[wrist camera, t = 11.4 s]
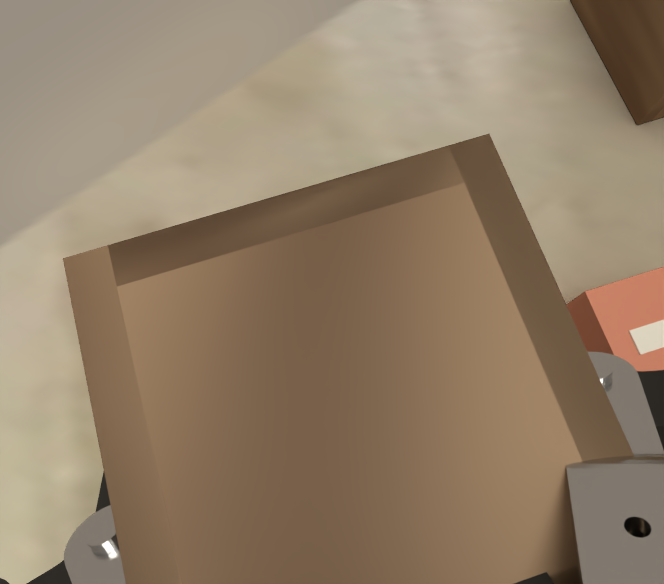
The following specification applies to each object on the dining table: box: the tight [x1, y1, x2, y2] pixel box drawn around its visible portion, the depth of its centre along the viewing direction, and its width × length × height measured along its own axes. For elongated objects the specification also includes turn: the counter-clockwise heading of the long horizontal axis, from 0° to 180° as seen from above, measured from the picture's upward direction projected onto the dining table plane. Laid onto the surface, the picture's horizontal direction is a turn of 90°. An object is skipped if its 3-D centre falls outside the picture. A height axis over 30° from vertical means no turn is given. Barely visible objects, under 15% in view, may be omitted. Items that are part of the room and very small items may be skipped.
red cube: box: [567, 267, 664, 371], centre depth 18 cm, size 4×4×4 cm
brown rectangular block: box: [63, 134, 634, 584], centre depth 12 cm, size 6×6×10 cm
